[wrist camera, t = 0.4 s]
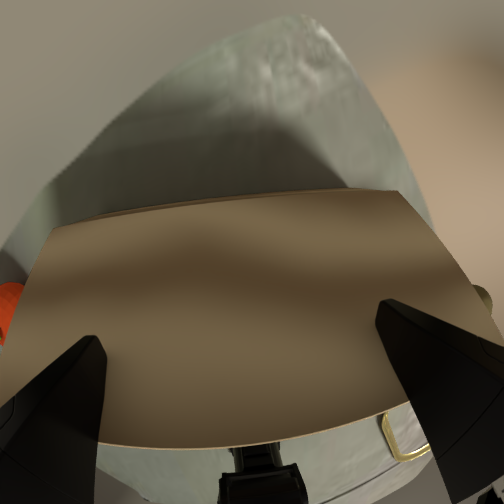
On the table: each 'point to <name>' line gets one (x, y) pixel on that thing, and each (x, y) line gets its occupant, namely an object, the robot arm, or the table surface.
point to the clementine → (8, 305)
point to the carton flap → (237, 314)
